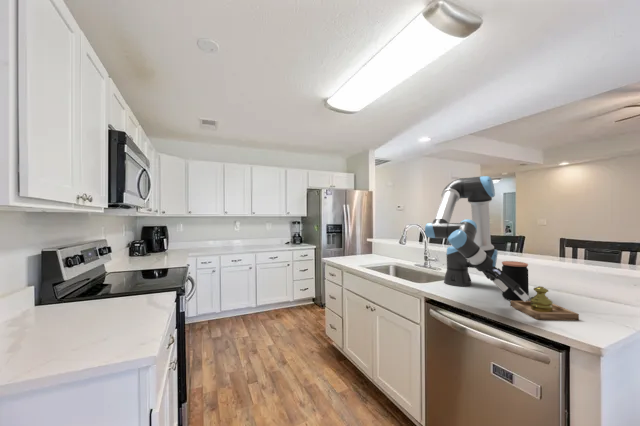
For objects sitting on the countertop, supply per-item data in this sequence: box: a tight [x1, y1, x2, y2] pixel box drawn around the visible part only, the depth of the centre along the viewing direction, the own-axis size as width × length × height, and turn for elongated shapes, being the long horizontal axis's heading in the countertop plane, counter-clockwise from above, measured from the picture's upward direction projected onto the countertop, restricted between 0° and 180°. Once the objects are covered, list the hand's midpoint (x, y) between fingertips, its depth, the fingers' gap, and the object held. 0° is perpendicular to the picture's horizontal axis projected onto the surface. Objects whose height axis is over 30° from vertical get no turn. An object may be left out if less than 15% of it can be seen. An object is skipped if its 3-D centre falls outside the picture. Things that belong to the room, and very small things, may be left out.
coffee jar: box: [501, 260, 530, 302], centre depth 133 cm, size 11×11×18 cm
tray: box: [510, 300, 580, 321], centre depth 114 cm, size 16×16×2 cm
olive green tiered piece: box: [529, 285, 554, 312], centre depth 114 cm, size 7×7×10 cm
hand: (515, 294), depth 115 cm, fingers open, 13 cm apart
